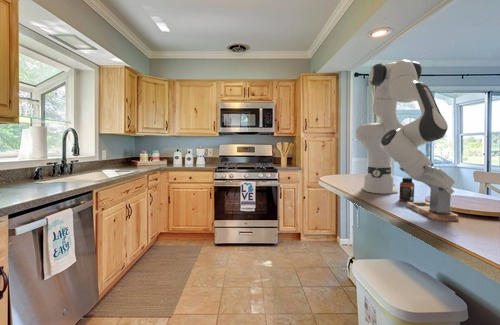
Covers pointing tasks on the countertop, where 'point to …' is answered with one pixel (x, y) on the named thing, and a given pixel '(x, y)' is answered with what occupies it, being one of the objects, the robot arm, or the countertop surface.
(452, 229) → the countertop surface
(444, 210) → the graphite peg
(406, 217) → the countertop surface
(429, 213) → the wooden tray
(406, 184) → the supplement bottle
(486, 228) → the countertop surface
